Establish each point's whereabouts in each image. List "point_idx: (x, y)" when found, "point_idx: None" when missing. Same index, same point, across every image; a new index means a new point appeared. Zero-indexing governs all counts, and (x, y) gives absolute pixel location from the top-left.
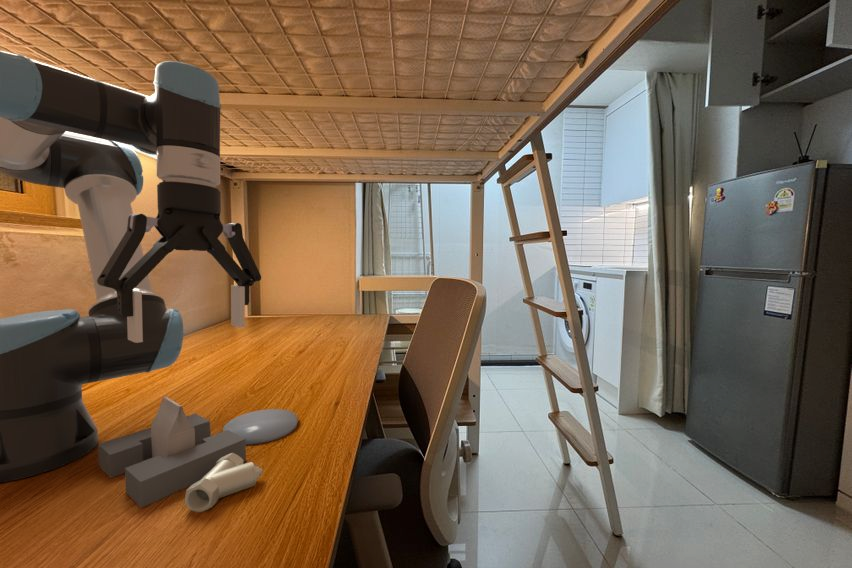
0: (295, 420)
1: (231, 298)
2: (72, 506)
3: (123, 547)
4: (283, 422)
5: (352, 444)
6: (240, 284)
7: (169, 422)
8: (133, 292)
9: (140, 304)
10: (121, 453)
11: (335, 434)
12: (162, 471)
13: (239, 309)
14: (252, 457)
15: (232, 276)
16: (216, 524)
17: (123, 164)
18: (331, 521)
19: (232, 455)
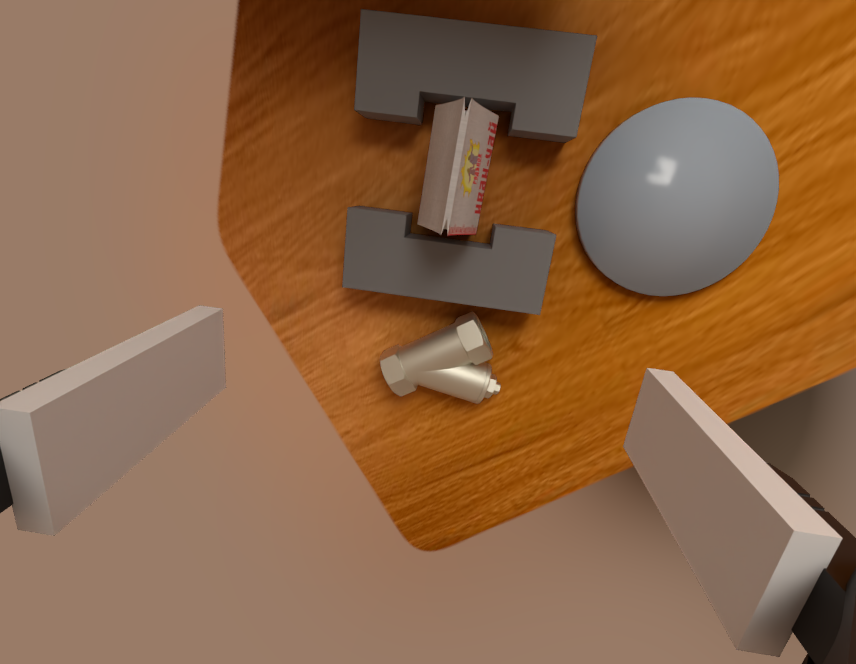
0: (720, 275)
1: (720, 461)
2: (296, 166)
3: (305, 344)
4: (697, 256)
5: None
6: (813, 620)
7: (431, 204)
8: (16, 516)
9: (109, 481)
10: (376, 113)
11: (702, 390)
12: (378, 286)
13: (661, 501)
14: (546, 306)
15: (828, 659)
16: (391, 410)
17: None
18: (469, 533)
19: (478, 349)
